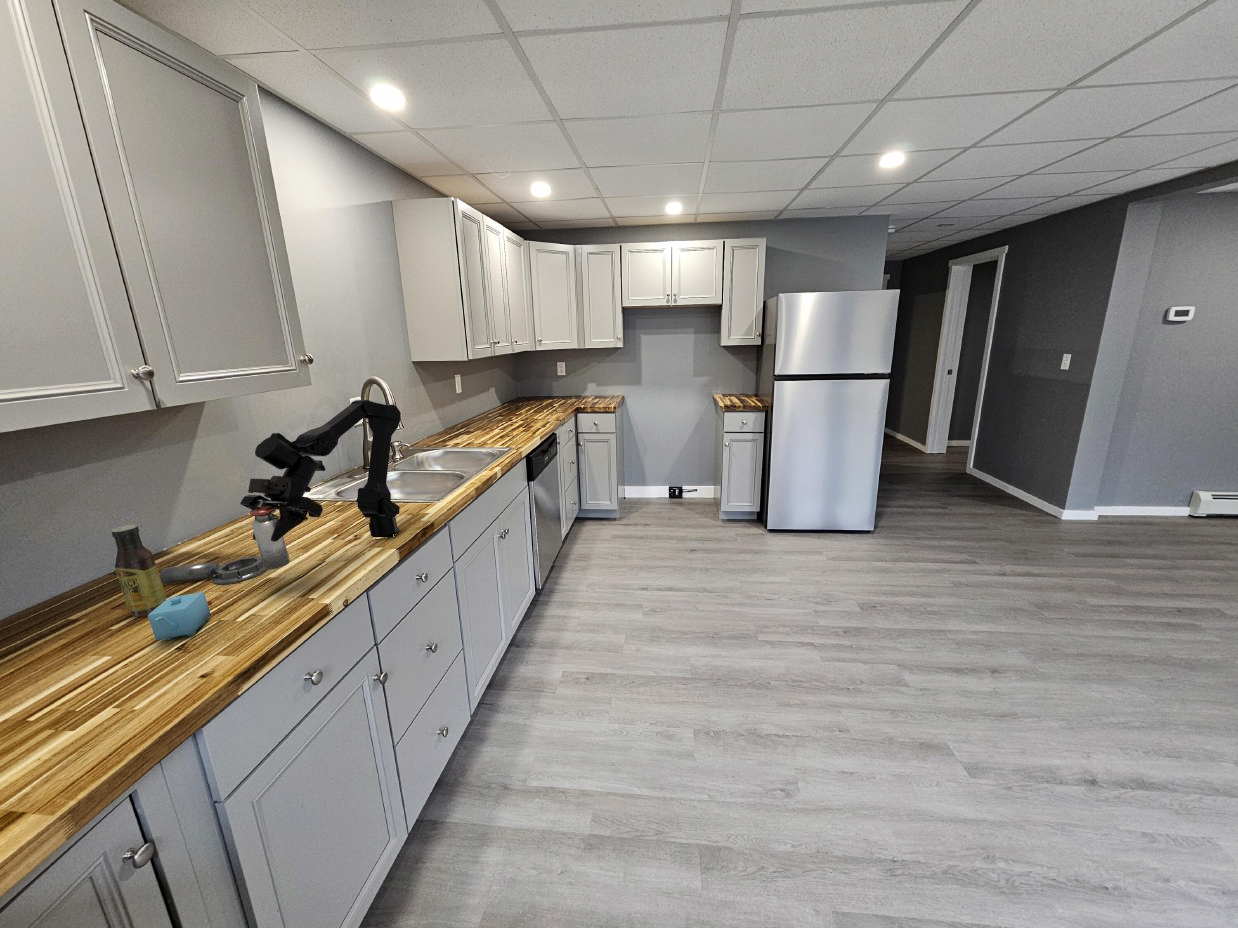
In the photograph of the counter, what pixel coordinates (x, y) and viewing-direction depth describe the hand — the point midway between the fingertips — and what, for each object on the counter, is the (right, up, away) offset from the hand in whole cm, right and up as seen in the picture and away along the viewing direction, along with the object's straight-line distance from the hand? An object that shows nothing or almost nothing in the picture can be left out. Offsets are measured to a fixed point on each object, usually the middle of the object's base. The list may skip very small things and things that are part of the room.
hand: (264, 540), depth 109 cm
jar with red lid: (+1, -6, +3) cm, 7 cm away
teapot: (-9, -17, -10) cm, 22 cm away
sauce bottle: (-25, -16, -1) cm, 29 cm away
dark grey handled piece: (-22, -11, +15) cm, 29 cm away
